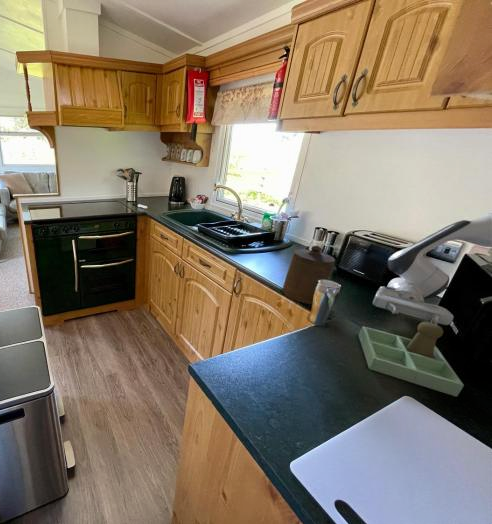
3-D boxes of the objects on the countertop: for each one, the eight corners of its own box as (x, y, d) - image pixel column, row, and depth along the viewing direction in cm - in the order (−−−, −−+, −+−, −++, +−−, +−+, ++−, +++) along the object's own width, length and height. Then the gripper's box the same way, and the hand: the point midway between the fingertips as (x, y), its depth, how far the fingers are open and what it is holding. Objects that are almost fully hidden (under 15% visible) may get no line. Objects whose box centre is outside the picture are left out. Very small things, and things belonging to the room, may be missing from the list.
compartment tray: (430, 355, 88) (435, 345, 87) (456, 397, 73) (464, 385, 71) (358, 335, 96) (362, 326, 94) (369, 369, 80) (374, 358, 79)
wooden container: (328, 299, 119) (345, 249, 111) (309, 307, 111) (326, 254, 103) (294, 285, 131) (308, 238, 122) (274, 291, 123) (288, 242, 115)
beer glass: (309, 314, 107) (321, 277, 101) (330, 322, 102) (344, 284, 97) (302, 320, 102) (315, 282, 97) (324, 329, 98) (338, 290, 92)
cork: (412, 360, 83) (428, 329, 79) (398, 347, 89) (413, 317, 85) (435, 364, 83) (453, 332, 79) (420, 351, 88) (436, 320, 84)
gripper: (441, 318, 99) (454, 337, 88) (369, 299, 109) (372, 314, 98) (449, 302, 97) (464, 320, 86) (375, 284, 107) (379, 298, 96)
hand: (414, 317), depth 92 cm, fingers open, 8 cm apart
